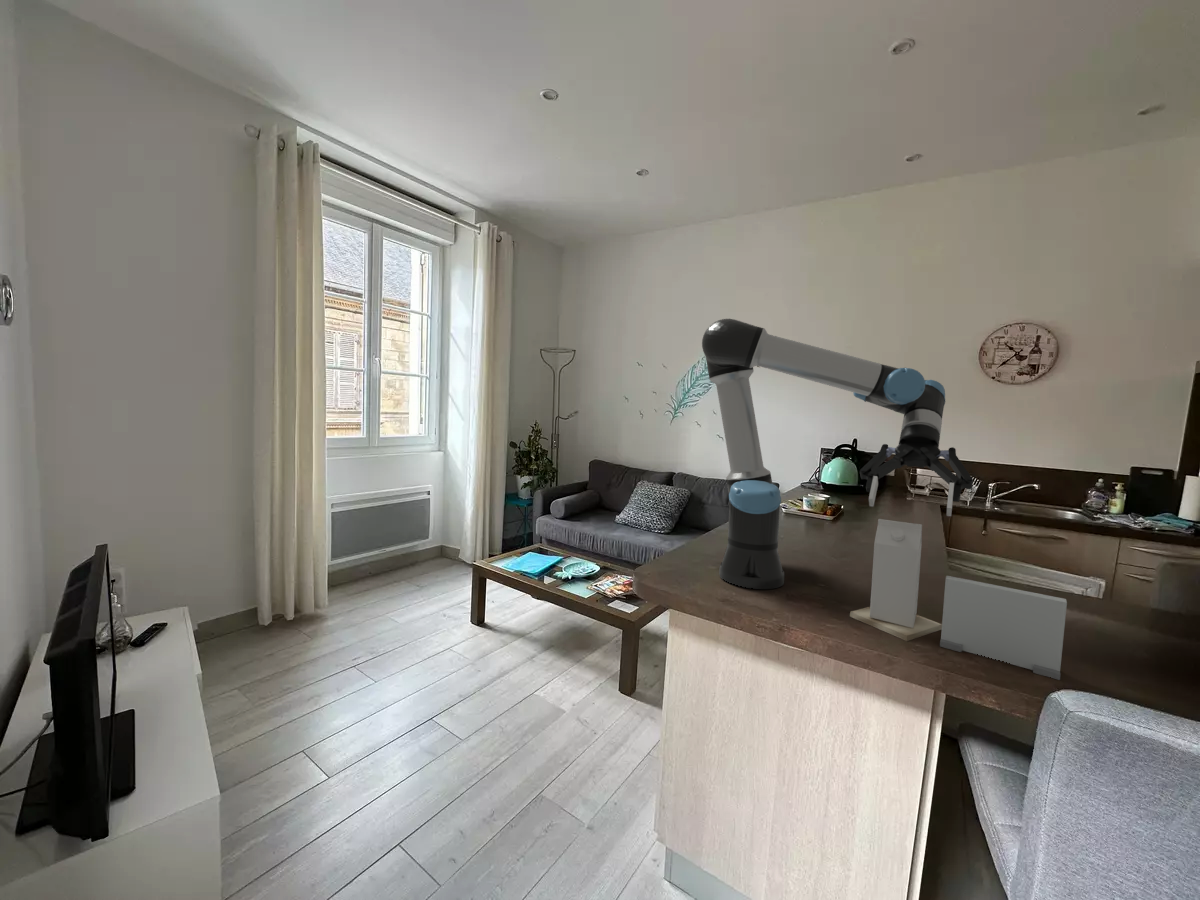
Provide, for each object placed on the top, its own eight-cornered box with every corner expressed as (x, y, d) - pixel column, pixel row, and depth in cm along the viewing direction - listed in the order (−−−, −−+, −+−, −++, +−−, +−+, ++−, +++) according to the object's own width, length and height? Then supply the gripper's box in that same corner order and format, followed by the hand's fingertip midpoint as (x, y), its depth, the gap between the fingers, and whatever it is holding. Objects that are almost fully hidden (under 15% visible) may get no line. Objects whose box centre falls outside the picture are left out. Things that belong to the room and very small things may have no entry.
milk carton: (874, 606, 95) (880, 515, 94) (916, 616, 91) (923, 521, 89) (869, 618, 90) (875, 521, 88) (913, 629, 85) (920, 528, 84)
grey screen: (939, 646, 81) (945, 579, 80) (942, 638, 84) (947, 574, 83) (1059, 680, 71) (1067, 604, 70) (1057, 669, 74) (1065, 597, 73)
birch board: (850, 616, 93) (850, 611, 92) (884, 607, 97) (884, 602, 97) (906, 641, 83) (907, 635, 83) (941, 629, 88) (942, 624, 88)
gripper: (989, 448, 101) (984, 527, 91) (860, 441, 117) (844, 509, 106) (992, 424, 97) (987, 504, 86) (857, 421, 112) (840, 489, 102)
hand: (908, 507), depth 96 cm, fingers open, 13 cm apart
